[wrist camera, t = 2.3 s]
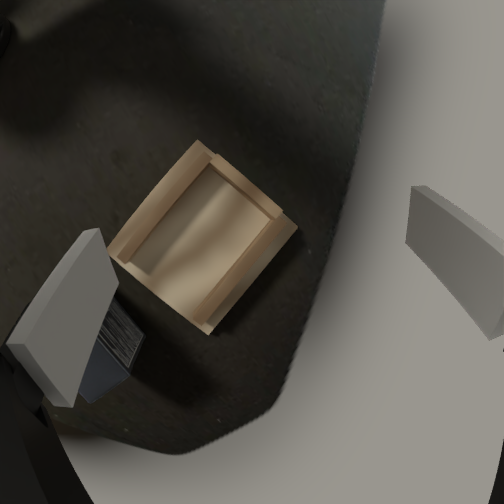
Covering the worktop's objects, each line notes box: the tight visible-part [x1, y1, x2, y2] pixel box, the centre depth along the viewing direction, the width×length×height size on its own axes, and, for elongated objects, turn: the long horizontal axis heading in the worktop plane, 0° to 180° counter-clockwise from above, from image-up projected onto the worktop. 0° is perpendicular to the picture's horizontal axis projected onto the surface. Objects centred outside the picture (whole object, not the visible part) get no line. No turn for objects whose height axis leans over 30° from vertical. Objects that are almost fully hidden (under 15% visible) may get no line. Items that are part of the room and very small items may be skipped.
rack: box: [107, 140, 298, 335], centre depth 33 cm, size 15×16×4 cm
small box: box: [78, 296, 146, 403], centre depth 29 cm, size 11×6×10 cm, turn 37°
